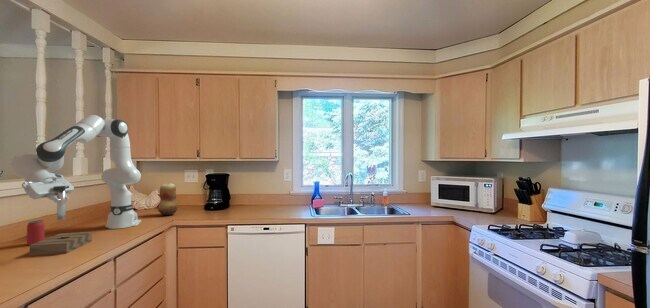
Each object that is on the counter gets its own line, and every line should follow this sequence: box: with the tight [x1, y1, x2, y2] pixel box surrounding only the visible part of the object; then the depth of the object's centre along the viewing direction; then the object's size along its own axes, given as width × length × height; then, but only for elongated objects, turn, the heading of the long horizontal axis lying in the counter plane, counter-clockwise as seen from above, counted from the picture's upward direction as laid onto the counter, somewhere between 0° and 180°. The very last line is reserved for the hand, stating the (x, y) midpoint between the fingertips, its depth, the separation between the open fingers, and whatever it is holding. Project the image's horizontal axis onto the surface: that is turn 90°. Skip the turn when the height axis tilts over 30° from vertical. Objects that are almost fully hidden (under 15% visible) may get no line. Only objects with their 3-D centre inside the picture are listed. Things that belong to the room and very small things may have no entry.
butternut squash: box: [157, 182, 179, 216], centre depth 220 cm, size 14×13×25 cm
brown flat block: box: [29, 231, 93, 257], centre depth 143 cm, size 20×15×5 cm
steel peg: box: [53, 186, 69, 221], centre depth 136 cm, size 6×6×16 cm
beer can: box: [26, 219, 46, 246], centre depth 150 cm, size 7×7×12 cm
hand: (62, 200), depth 136 cm, fingers closed on steel peg, 3 cm apart
